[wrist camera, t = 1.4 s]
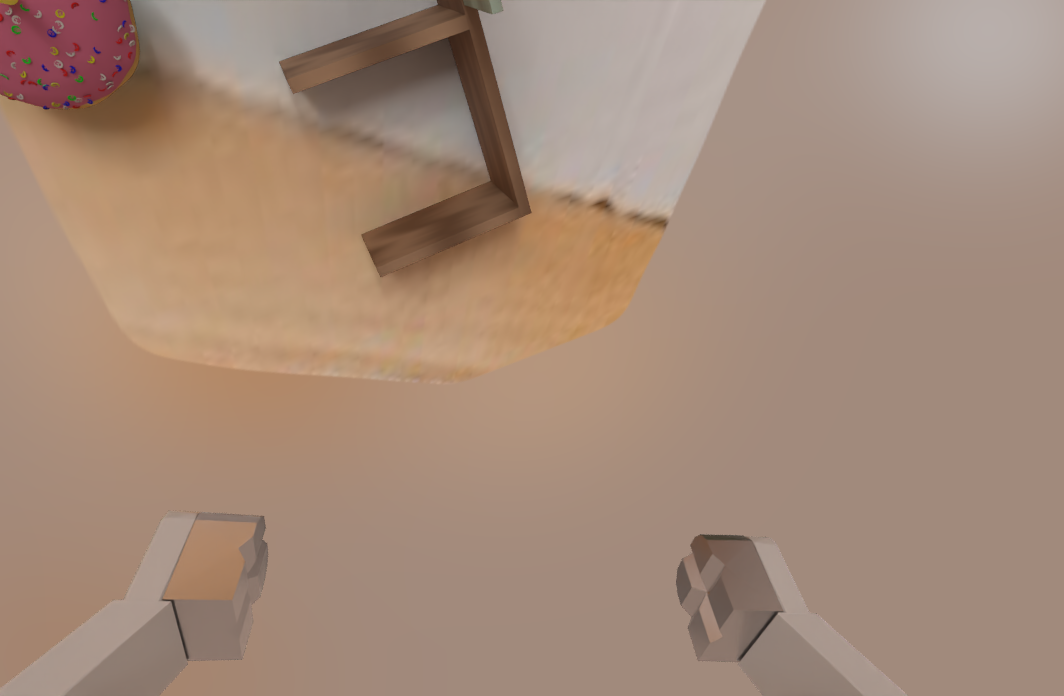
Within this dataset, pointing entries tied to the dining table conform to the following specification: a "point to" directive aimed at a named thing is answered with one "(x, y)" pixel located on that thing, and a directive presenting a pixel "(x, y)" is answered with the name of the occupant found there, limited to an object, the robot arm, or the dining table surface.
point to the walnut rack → (470, 51)
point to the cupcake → (66, 50)
